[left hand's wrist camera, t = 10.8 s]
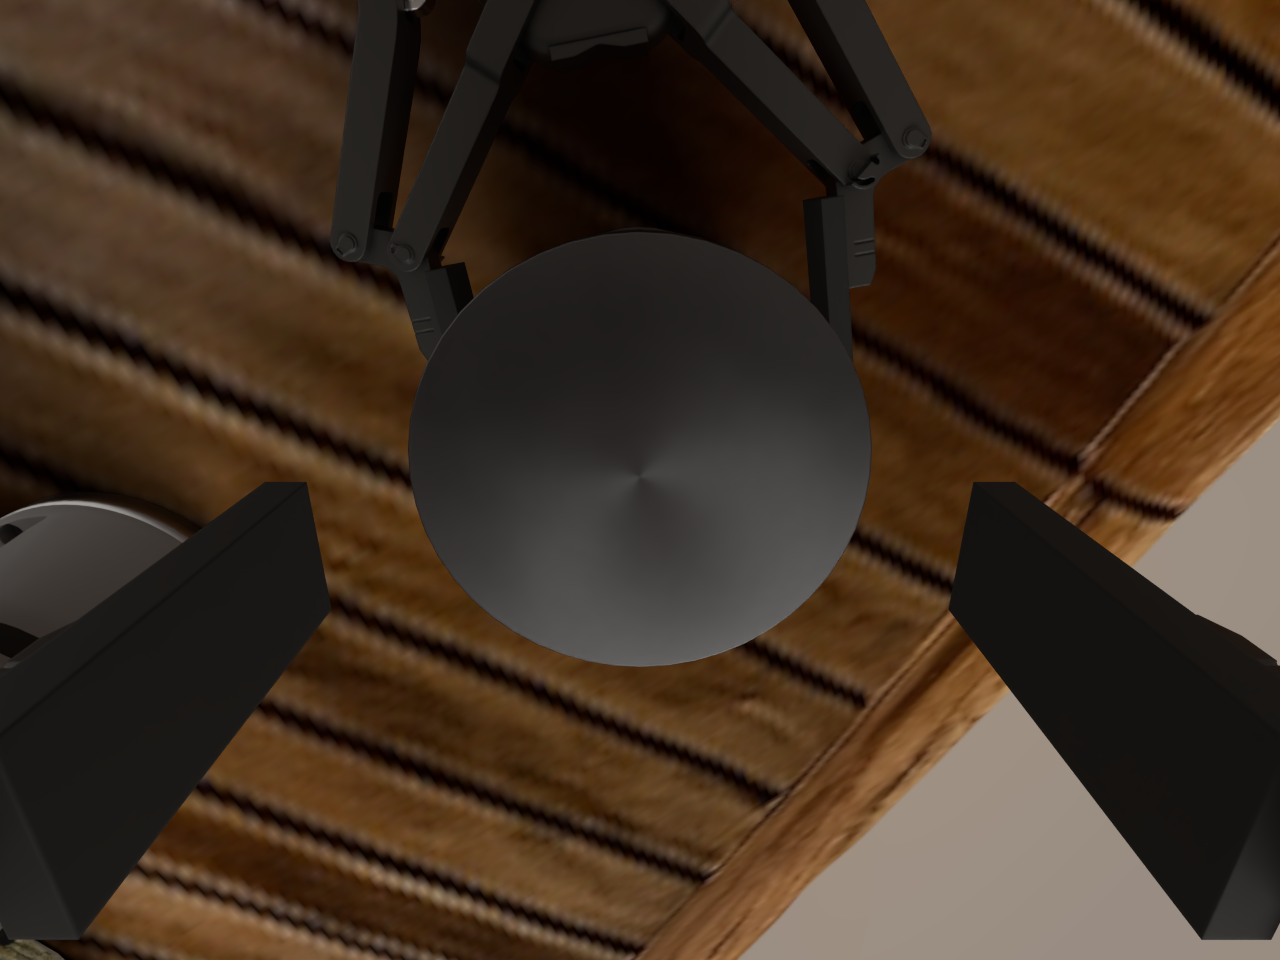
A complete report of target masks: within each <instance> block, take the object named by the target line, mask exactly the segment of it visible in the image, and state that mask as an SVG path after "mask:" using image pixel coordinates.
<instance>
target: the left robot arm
mask: <svg viewBox="0 0 1280 960" xmlns="http://www.w3.org/2000/svg"><path fill="white" fill-rule="evenodd" d="M330 611H331V605H330V600H329V594H328V589H327V584H326V579H325V574H324V569H323V564H322V559H321V554H320V549H319V544H318V538H317V533H316V528H315V523H314V518H313V513H312V508H311V503H310V498H309V493H308V487H307V482H265V483H263V484H262V485H260V486H259V487H258V488H256V489H255V490H254V491H252V492H251V493H250V494H248V495H247V496H245V497H244V498H243V499H241V500H240V501H239V502H237V503H236V504H235V505H233V506H232V507H230V508H229V509H228V510H226V511H225V512H224V513H222V514H221V515H220V516H218V517H217V518H215V519H214V520H213V521H211V522H210V523H209V524H207V525H206V526H205V527H203V528H202V529H200V528H198V527H197V526H195V525H194V524H192V523H190V522H189V521H187V520H186V519H184V518H182V517H180V516H178V515H176V514H175V513H173V512H171V511H168V510H166V509H164V508H162V507H159V506H157V505H154V504H151V503H149V502H146V501H143V500H140V499H136V498H132V497H128V496H124V495H118V494H113V493H104V492H70V493H63V494H58V495H53V496H50V497H46V498H43V499H40V500H38V501H35V502H33V503H30V504H28V505H26V506H24V507H22V508H20V509H18V510H16V511H14V512H12V513H10V514H8V515H6V516H4V517H2V518H0V930H1V929H2V928H3V929H4V931H5V933H6V935H7V937H8V939H9V940H78V939H79V938H80V937H81V936H82V934H83V933H84V932H85V930H86V929H87V928H88V926H89V925H90V924H91V922H92V921H93V920H94V919H95V917H96V916H97V915H98V913H99V912H100V911H101V909H102V908H103V907H104V906H105V904H106V903H107V902H108V900H109V899H110V898H111V896H112V895H113V894H114V892H115V891H116V890H117V889H118V887H119V886H120V885H121V883H122V882H123V881H124V879H125V878H126V877H127V876H128V874H129V873H130V872H131V870H132V869H133V868H134V866H135V865H136V864H137V862H138V861H139V860H140V859H141V857H142V856H143V855H144V853H145V852H146V851H147V849H148V848H149V847H150V846H151V844H152V843H153V842H154V840H155V839H156V838H157V836H158V835H159V834H160V832H161V831H162V830H163V829H164V827H165V826H166V825H167V823H168V822H169V821H170V819H171V818H172V817H173V816H174V814H175V813H176V812H177V810H178V809H179V808H180V806H181V805H182V804H183V802H184V801H185V800H186V799H187V797H188V796H189V795H190V793H191V792H192V791H193V789H194V788H195V787H196V786H197V784H198V783H199V782H200V780H201V779H202V778H203V776H204V775H205V774H206V772H207V771H208V770H209V769H210V767H211V766H212V765H213V763H214V762H215V761H216V759H217V758H218V757H219V756H220V754H221V753H222V752H223V750H224V749H225V748H226V746H227V745H228V744H229V742H230V741H231V740H232V739H233V737H234V736H235V735H236V733H237V732H238V731H239V729H240V728H241V727H242V726H243V724H244V723H245V722H246V720H247V719H248V718H249V716H250V715H251V714H252V712H253V711H254V710H255V709H256V707H257V706H258V705H259V703H260V702H261V701H262V699H263V698H264V697H265V696H266V694H267V693H268V692H269V690H270V689H271V688H272V686H273V685H274V684H275V682H276V681H277V680H278V679H279V677H280V676H281V675H282V673H283V672H284V671H285V669H286V668H287V667H288V665H289V664H290V663H291V662H292V660H293V659H294V658H295V656H296V655H297V654H298V652H299V651H300V650H301V649H302V647H303V646H304V645H305V643H306V642H307V641H308V639H309V638H310V637H311V635H312V634H313V633H314V632H315V630H316V629H317V628H318V626H319V625H320V624H321V622H322V621H323V620H324V619H325V617H326V616H327V615H328V613H329V612H330ZM949 611H950V612H951V613H952V615H953V616H954V617H955V619H956V620H957V621H958V622H959V624H960V625H961V626H962V628H963V629H964V630H965V632H966V633H967V634H968V635H969V637H970V638H971V639H972V641H973V642H974V643H975V645H976V646H977V647H978V649H979V650H980V651H981V652H982V654H983V655H984V656H985V658H986V659H987V660H988V662H989V663H990V664H991V665H992V667H993V668H994V669H995V671H996V672H997V673H998V675H999V676H1000V677H1001V679H1002V680H1003V681H1004V682H1005V684H1006V685H1007V686H1008V688H1009V689H1010V690H1011V692H1012V693H1013V694H1014V696H1015V697H1016V698H1017V699H1018V701H1019V702H1020V703H1021V705H1022V706H1023V707H1024V708H1025V710H1026V711H1027V712H1028V714H1029V715H1030V716H1031V718H1032V719H1033V720H1034V722H1035V723H1036V724H1037V725H1038V727H1039V728H1040V729H1041V731H1042V732H1043V733H1044V735H1045V736H1046V737H1047V739H1048V740H1049V741H1050V742H1051V744H1052V745H1053V746H1054V748H1055V749H1056V750H1057V752H1058V753H1059V754H1060V756H1061V757H1062V758H1063V759H1064V761H1065V762H1066V763H1067V765H1068V766H1069V767H1070V769H1071V770H1072V771H1073V772H1074V774H1075V775H1076V776H1077V778H1078V779H1079V780H1080V782H1081V783H1082V784H1083V785H1084V787H1085V788H1086V789H1087V791H1088V792H1089V793H1090V795H1091V796H1092V797H1093V799H1094V800H1095V801H1096V802H1097V804H1098V805H1099V806H1100V808H1101V809H1102V810H1103V812H1104V813H1105V814H1106V816H1107V817H1108V818H1109V819H1110V821H1111V822H1112V823H1113V825H1114V826H1115V827H1116V829H1117V830H1118V831H1119V832H1120V834H1121V835H1122V836H1123V838H1124V839H1125V840H1126V842H1127V843H1128V844H1129V845H1130V847H1131V848H1132V849H1133V851H1134V852H1135V853H1136V855H1137V856H1138V857H1139V859H1140V860H1141V861H1142V862H1143V864H1144V865H1145V866H1146V868H1147V869H1148V870H1149V872H1150V873H1151V874H1152V876H1153V877H1154V878H1155V879H1156V881H1157V882H1158V883H1159V885H1160V886H1161V887H1162V889H1163V890H1164V891H1165V892H1166V894H1167V895H1168V896H1169V898H1170V899H1171V900H1172V902H1173V903H1174V904H1175V906H1176V907H1177V908H1178V909H1179V911H1180V912H1181V913H1182V915H1183V916H1184V917H1185V918H1186V920H1187V921H1188V922H1189V924H1190V925H1191V926H1192V928H1193V929H1194V930H1195V932H1196V933H1197V934H1198V936H1199V937H1200V938H1201V939H1202V940H1271V939H1272V937H1273V935H1274V933H1275V931H1276V929H1277V927H1278V925H1279V923H1280V666H1278V665H1277V660H1275V659H1274V658H1272V657H1271V656H1270V655H1268V654H1267V653H1265V652H1264V651H1262V650H1261V649H1260V648H1258V647H1257V646H1256V645H1254V644H1253V643H1251V642H1250V641H1249V640H1247V639H1246V638H1244V637H1243V636H1241V635H1239V634H1237V633H1235V632H1233V631H1231V630H1229V629H1227V628H1225V627H1222V626H1220V625H1218V624H1216V623H1214V622H1212V621H1210V620H1208V619H1206V618H1204V617H1202V616H1199V615H1195V614H1194V613H1193V612H1191V611H1190V610H1189V609H1187V608H1186V607H1184V606H1183V605H1182V604H1180V603H1179V602H1178V601H1176V600H1175V599H1174V598H1172V597H1171V596H1169V595H1168V594H1167V593H1165V592H1164V591H1163V590H1161V589H1160V588H1159V587H1157V586H1156V585H1154V584H1153V583H1152V582H1150V581H1149V580H1148V579H1146V578H1145V577H1144V576H1142V575H1141V574H1139V573H1138V572H1137V571H1135V570H1134V569H1133V568H1131V567H1130V566H1129V565H1127V564H1126V563H1124V562H1123V561H1122V560H1120V559H1119V558H1118V557H1116V556H1115V555H1114V554H1112V553H1111V552H1110V551H1108V550H1107V549H1105V548H1104V547H1103V546H1101V545H1100V544H1099V543H1097V542H1096V541H1095V540H1093V539H1092V538H1090V537H1089V536H1088V535H1086V534H1085V533H1084V532H1082V531H1081V530H1080V529H1078V528H1077V527H1075V526H1074V525H1073V524H1071V523H1070V522H1069V521H1067V520H1066V519H1065V518H1063V517H1062V516H1060V515H1059V514H1058V513H1056V512H1055V511H1054V510H1052V509H1051V508H1050V507H1048V506H1047V505H1045V504H1044V503H1043V502H1041V501H1040V500H1039V499H1037V498H1036V497H1035V496H1033V495H1032V494H1030V493H1029V492H1028V491H1026V490H1025V489H1024V488H1022V487H1021V486H1020V485H1018V484H1017V483H1015V482H973V487H972V493H971V498H970V503H969V508H968V513H967V518H966V523H965V528H964V533H963V538H962V544H961V549H960V554H959V559H958V564H957V569H956V574H955V579H954V584H953V589H952V594H951V600H950V605H949Z"/></svg>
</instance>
